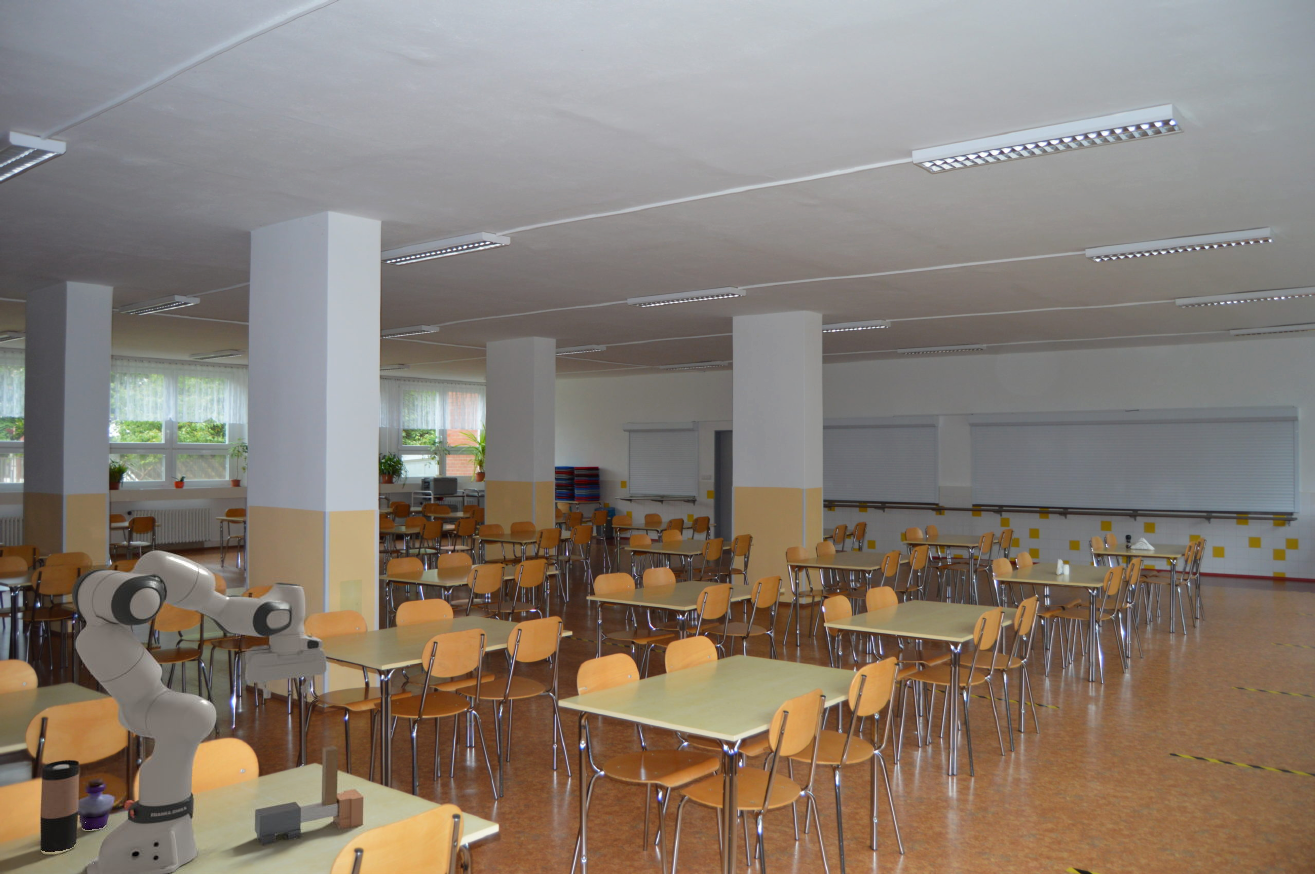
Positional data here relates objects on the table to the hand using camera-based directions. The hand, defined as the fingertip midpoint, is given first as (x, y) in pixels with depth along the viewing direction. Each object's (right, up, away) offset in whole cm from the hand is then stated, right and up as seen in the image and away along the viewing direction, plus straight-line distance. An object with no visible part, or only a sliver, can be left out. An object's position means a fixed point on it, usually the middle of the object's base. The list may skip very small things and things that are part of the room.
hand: (286, 695), depth 245 cm
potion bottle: (-44, -31, -12) cm, 55 cm away
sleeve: (+5, -31, -17) cm, 35 cm away
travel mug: (-45, -30, -25) cm, 59 cm away
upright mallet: (+12, -28, -11) cm, 33 cm away
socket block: (+19, -31, -7) cm, 37 cm away
